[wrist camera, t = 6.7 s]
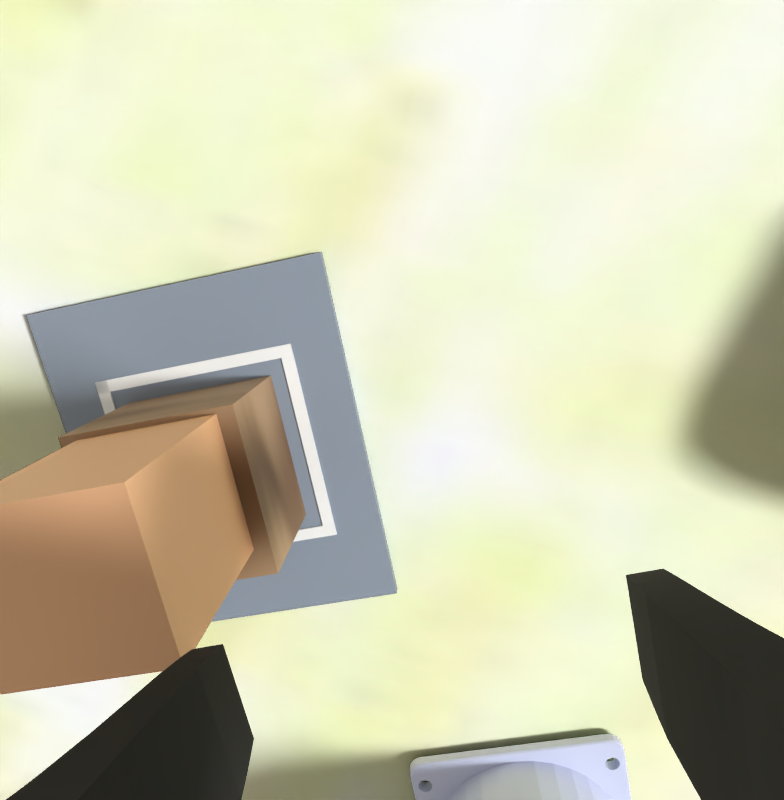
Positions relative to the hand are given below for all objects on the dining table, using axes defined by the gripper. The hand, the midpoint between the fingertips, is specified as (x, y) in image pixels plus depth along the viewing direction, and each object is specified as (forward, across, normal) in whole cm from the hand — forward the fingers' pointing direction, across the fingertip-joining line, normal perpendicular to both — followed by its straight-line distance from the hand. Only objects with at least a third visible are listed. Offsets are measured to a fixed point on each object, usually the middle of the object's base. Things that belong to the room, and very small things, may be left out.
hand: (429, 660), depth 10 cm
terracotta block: (+6, +7, -2) cm, 9 cm away
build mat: (+10, +7, -2) cm, 13 cm away
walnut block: (+10, +7, -2) cm, 12 cm away
